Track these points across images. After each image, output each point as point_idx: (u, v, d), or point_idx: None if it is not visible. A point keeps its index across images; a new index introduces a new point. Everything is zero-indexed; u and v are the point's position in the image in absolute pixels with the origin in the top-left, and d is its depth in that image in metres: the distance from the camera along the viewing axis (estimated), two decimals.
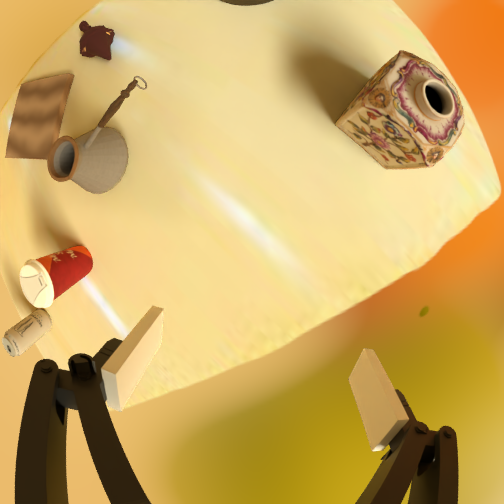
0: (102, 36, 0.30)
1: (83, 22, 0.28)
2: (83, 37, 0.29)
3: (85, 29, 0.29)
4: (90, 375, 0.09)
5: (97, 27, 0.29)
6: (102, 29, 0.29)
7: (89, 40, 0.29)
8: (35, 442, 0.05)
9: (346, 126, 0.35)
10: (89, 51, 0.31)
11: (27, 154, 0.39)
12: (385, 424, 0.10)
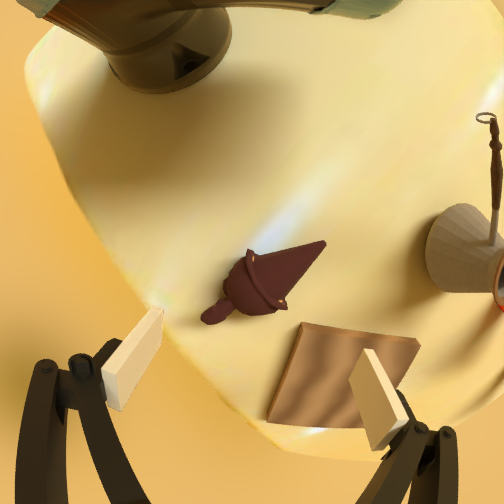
0: (267, 264, 0.26)
1: (208, 315, 0.27)
2: (259, 305, 0.26)
3: (229, 308, 0.27)
4: (90, 375, 0.09)
5: (239, 279, 0.26)
6: (250, 266, 0.26)
7: (272, 289, 0.26)
8: (35, 442, 0.05)
9: None
10: (289, 290, 0.27)
11: None
12: (385, 424, 0.10)
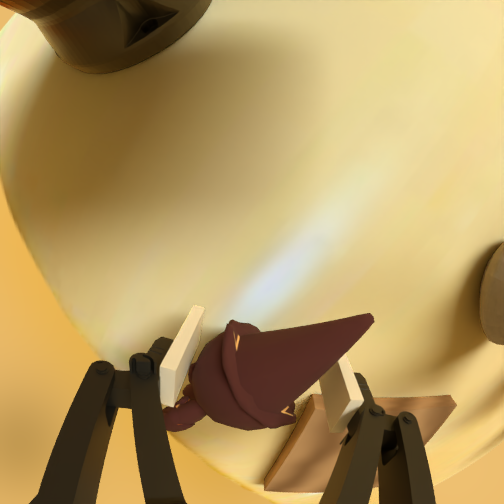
0: (263, 361, 0.13)
1: (165, 422, 0.14)
2: (246, 425, 0.12)
3: (197, 416, 0.14)
4: (150, 374, 0.10)
5: (211, 383, 0.13)
6: (230, 365, 0.13)
7: (270, 404, 0.12)
8: (76, 440, 0.06)
9: None
10: None
11: None
12: (341, 405, 0.12)
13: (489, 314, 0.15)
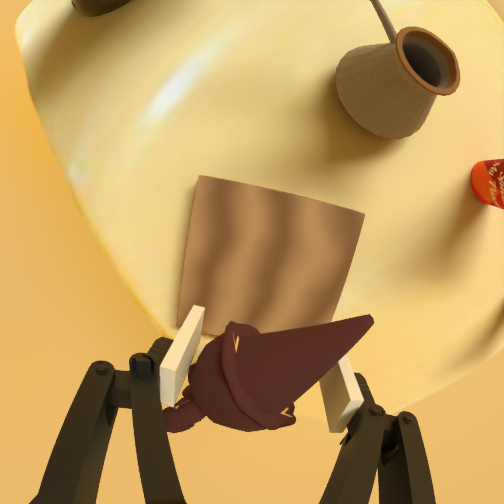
0: (262, 362, 0.13)
1: None
2: (245, 426, 0.12)
3: (196, 417, 0.14)
4: (150, 374, 0.10)
5: (210, 385, 0.13)
6: (229, 366, 0.12)
7: (269, 405, 0.12)
8: (76, 440, 0.06)
9: None
10: None
11: (338, 280, 0.29)
12: (341, 405, 0.12)
13: (342, 94, 0.23)
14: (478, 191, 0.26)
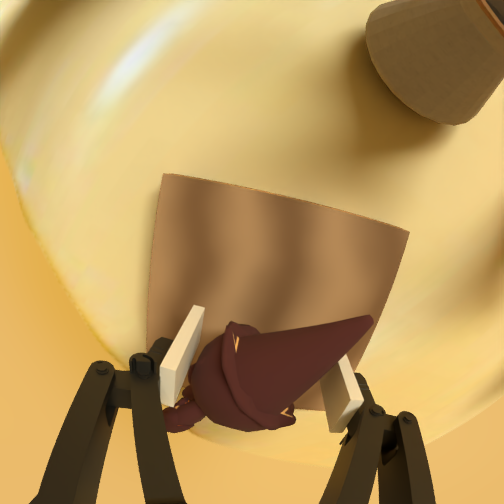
0: (262, 362, 0.13)
1: None
2: (245, 426, 0.12)
3: (196, 417, 0.14)
4: (150, 374, 0.10)
5: (210, 385, 0.13)
6: (229, 367, 0.12)
7: (269, 405, 0.12)
8: (76, 440, 0.06)
9: None
10: None
11: None
12: (341, 405, 0.12)
13: (378, 55, 0.13)
14: None
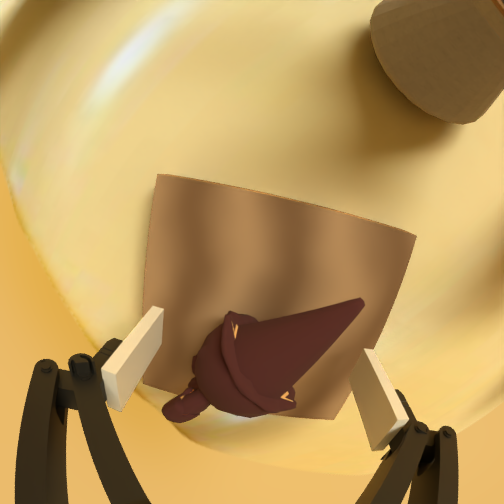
0: (260, 347, 0.14)
1: (171, 413, 0.15)
2: (247, 411, 0.13)
3: (201, 405, 0.15)
4: (90, 375, 0.09)
5: (212, 371, 0.14)
6: (229, 352, 0.13)
7: (269, 389, 0.13)
8: (35, 442, 0.05)
9: None
10: None
11: (371, 333, 0.18)
12: (385, 424, 0.10)
13: (384, 50, 0.12)
14: None
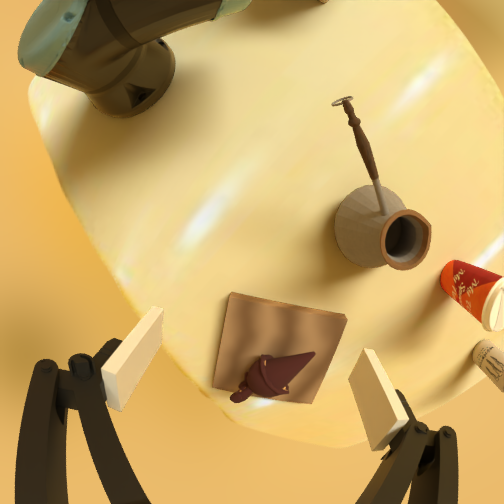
0: (275, 369, 0.36)
1: (235, 398, 0.37)
2: (270, 394, 0.35)
3: (249, 393, 0.37)
4: (90, 375, 0.09)
5: (256, 378, 0.36)
6: (263, 371, 0.35)
7: (278, 384, 0.35)
8: (35, 442, 0.05)
9: None
10: (290, 381, 0.37)
11: (326, 361, 0.40)
12: (385, 424, 0.10)
13: (338, 239, 0.34)
14: (444, 288, 0.37)
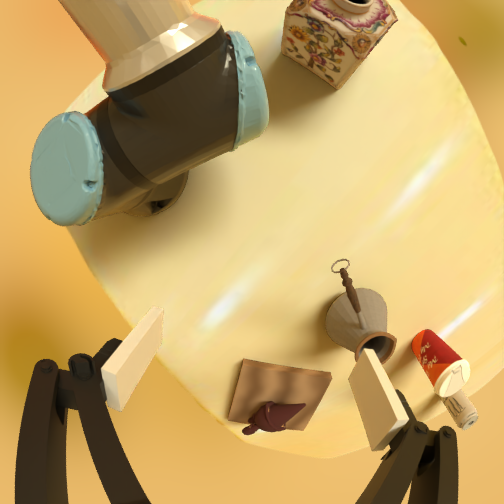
0: (276, 415, 0.45)
1: (246, 432, 0.46)
2: (272, 430, 0.45)
3: (256, 429, 0.47)
4: (90, 375, 0.09)
5: (262, 421, 0.45)
6: (267, 416, 0.45)
7: (278, 425, 0.45)
8: (35, 442, 0.05)
9: None
10: None
11: (315, 403, 0.50)
12: (385, 424, 0.10)
13: (328, 330, 0.44)
14: None
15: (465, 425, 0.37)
